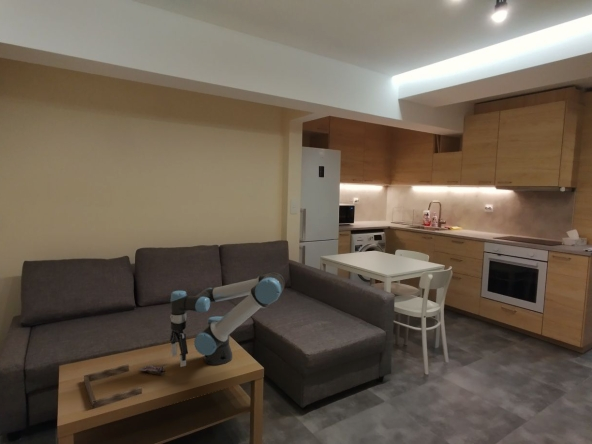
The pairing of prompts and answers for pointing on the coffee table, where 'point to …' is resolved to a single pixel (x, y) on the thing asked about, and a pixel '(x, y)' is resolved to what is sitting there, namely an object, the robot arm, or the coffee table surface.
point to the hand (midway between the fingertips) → (178, 360)
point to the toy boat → (154, 370)
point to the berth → (112, 398)
